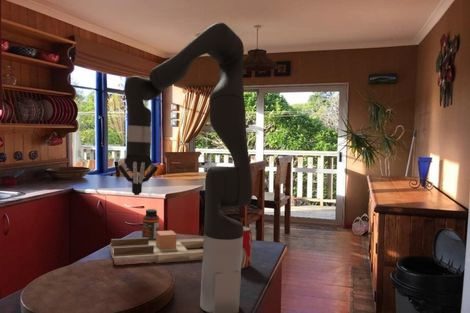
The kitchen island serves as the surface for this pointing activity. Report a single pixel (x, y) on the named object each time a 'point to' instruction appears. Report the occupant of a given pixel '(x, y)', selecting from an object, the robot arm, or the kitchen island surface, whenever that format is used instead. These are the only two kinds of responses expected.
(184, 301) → the kitchen island surface
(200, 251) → the wooden fixture board
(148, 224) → the supplement bottle
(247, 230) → the soda can
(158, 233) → the block
